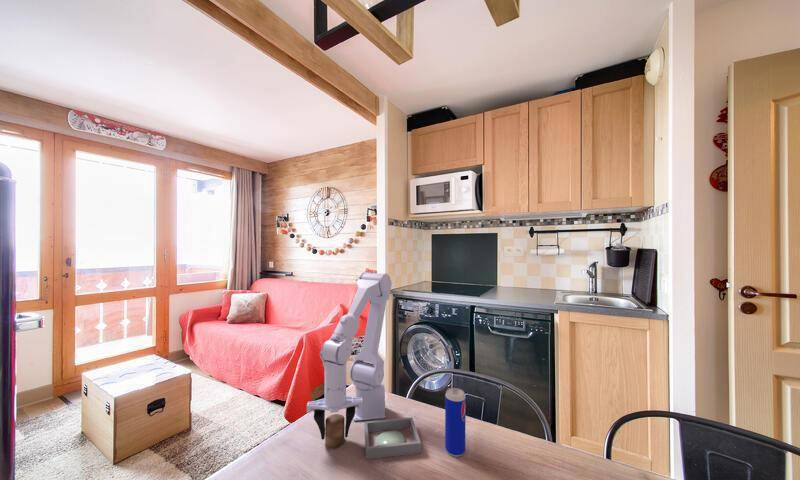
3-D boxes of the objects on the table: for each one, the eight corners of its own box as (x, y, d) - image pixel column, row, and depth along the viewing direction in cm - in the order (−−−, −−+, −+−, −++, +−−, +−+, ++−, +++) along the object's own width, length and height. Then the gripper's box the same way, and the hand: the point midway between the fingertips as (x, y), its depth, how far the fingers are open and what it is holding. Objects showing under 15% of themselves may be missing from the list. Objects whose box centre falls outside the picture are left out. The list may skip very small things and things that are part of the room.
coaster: (402, 430, 82) (402, 429, 82) (407, 449, 74) (407, 448, 74) (375, 433, 81) (375, 431, 81) (378, 452, 73) (378, 451, 73)
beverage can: (465, 459, 71) (465, 398, 71) (444, 456, 72) (444, 396, 72) (465, 445, 76) (465, 388, 76) (445, 442, 77) (445, 386, 77)
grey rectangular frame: (412, 425, 84) (412, 417, 84) (420, 452, 73) (420, 443, 73) (364, 430, 82) (364, 421, 82) (365, 459, 71) (365, 449, 71)
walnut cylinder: (344, 434, 80) (344, 413, 80) (344, 447, 75) (344, 424, 75) (326, 436, 79) (326, 414, 79) (324, 449, 74) (324, 426, 74)
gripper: (305, 394, 72) (304, 449, 72) (362, 390, 74) (362, 443, 74) (309, 381, 79) (308, 431, 79) (362, 378, 81) (361, 426, 81)
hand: (334, 435), depth 77 cm, fingers open, 5 cm apart
